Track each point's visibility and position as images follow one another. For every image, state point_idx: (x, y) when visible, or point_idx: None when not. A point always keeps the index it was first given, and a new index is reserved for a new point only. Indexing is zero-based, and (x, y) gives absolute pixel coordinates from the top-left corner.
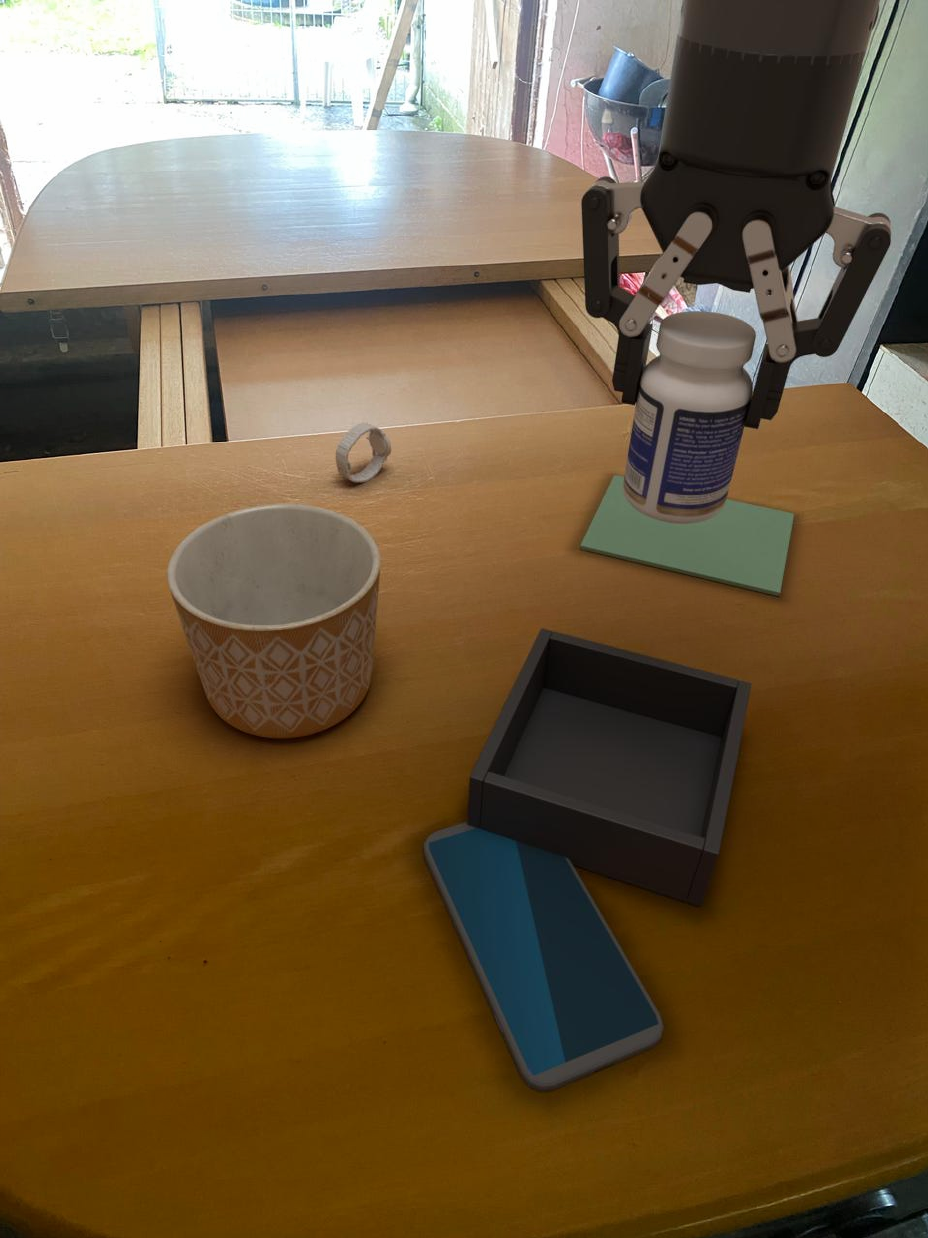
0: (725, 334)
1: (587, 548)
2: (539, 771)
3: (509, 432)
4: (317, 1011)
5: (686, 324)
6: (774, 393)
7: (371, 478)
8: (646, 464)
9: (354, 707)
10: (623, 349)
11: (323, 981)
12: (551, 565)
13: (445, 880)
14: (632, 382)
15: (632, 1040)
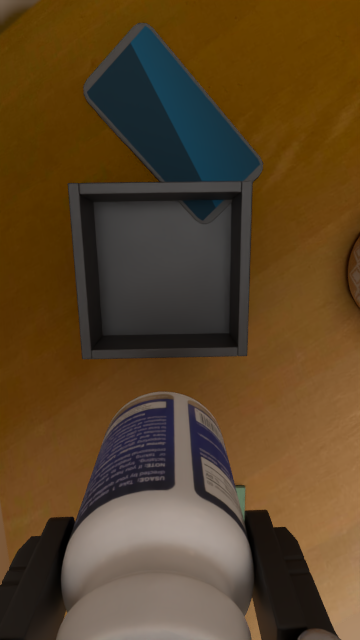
0: None
1: (239, 487)
2: (209, 257)
3: (337, 601)
4: (281, 20)
5: None
6: (16, 580)
7: None
8: (198, 431)
9: (351, 254)
10: (308, 602)
11: (286, 41)
12: (259, 459)
13: (239, 140)
14: (263, 539)
15: (97, 74)
